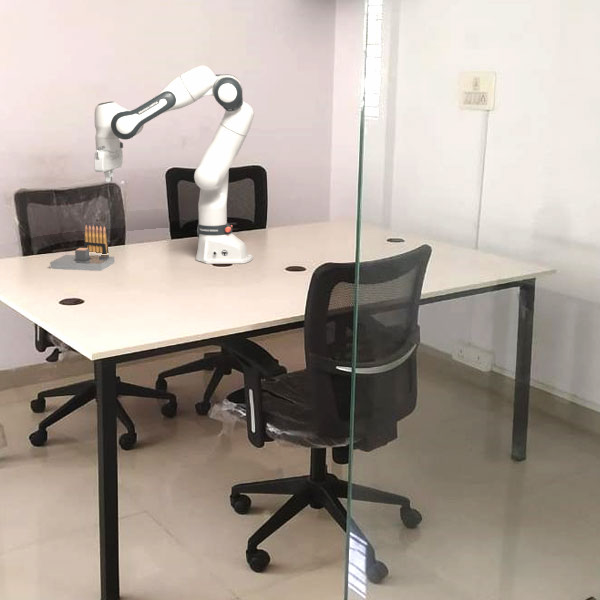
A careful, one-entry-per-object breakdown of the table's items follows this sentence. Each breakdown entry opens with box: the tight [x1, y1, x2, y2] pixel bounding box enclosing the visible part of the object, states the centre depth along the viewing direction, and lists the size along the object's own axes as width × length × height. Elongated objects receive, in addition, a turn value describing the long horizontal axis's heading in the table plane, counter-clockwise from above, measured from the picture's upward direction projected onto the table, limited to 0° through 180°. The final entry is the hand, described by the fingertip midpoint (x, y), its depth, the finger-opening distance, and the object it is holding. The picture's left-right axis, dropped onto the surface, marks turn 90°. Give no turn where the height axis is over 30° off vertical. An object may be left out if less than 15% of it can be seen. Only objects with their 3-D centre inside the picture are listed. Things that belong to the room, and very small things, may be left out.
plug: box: [74, 247, 91, 261], centre depth 347 cm, size 4×4×6 cm
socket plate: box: [49, 254, 115, 272], centre depth 347 cm, size 20×14×3 cm
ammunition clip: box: [83, 224, 110, 254], centre depth 367 cm, size 11×2×12 cm, turn 66°
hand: (109, 181), depth 349 cm, fingers closed
